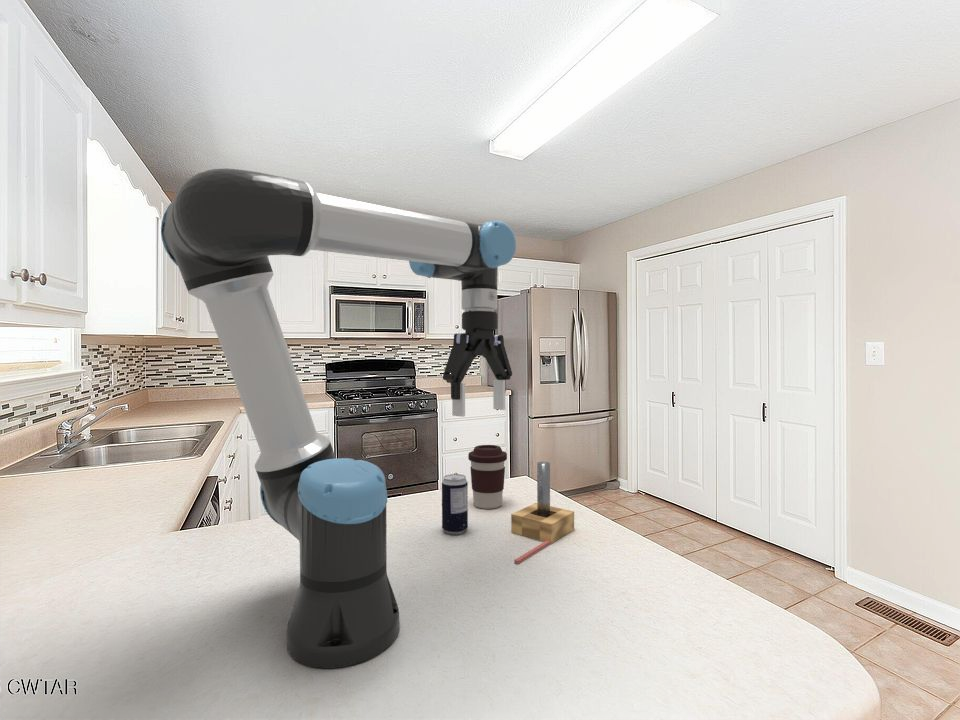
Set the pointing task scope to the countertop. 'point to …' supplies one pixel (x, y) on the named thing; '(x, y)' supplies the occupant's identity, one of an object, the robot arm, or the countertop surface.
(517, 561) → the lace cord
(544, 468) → the grey capsule rod
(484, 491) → the coffee cup
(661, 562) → the countertop surface
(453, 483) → the beverage can
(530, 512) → the wooden square frame
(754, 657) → the countertop surface
